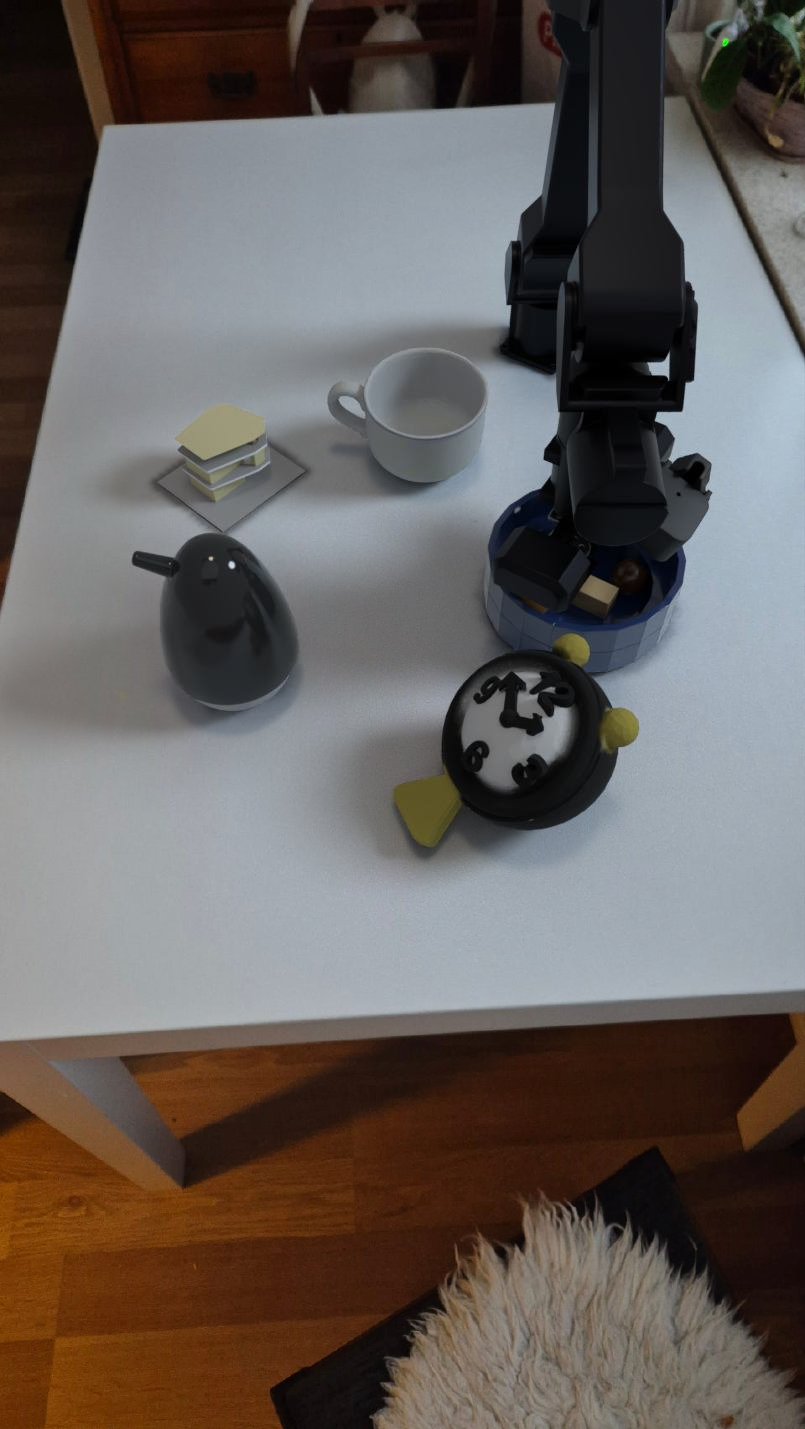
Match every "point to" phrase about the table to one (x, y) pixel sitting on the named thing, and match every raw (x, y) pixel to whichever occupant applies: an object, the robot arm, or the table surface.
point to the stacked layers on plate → (228, 466)
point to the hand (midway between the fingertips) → (572, 574)
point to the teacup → (418, 412)
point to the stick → (596, 597)
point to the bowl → (609, 639)
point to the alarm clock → (522, 745)
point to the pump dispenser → (223, 622)
